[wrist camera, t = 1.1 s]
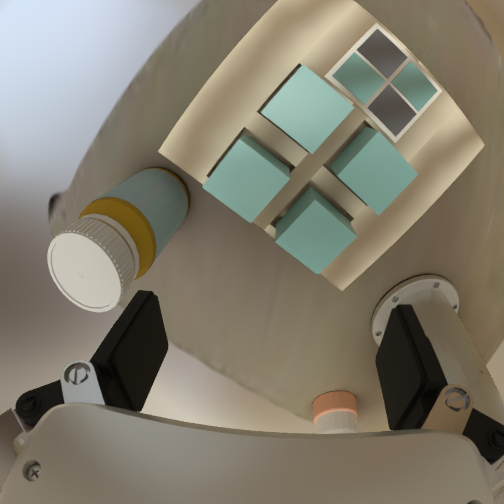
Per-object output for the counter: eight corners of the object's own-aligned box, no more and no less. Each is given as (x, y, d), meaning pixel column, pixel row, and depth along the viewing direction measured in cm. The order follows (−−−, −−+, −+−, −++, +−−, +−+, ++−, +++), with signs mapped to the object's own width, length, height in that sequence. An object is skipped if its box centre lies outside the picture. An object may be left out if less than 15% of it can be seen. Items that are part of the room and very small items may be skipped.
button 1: (402, 164, 23) (418, 174, 20) (367, 200, 25) (378, 215, 22) (366, 126, 22) (378, 131, 19) (329, 165, 24) (336, 176, 21)
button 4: (289, 168, 24) (290, 178, 21) (254, 207, 26) (250, 223, 23) (244, 133, 23) (239, 138, 20) (212, 175, 25) (201, 187, 22)
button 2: (348, 219, 26) (357, 236, 23) (313, 254, 28) (317, 274, 25) (310, 186, 25) (315, 199, 22) (275, 224, 27) (274, 242, 24)
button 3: (344, 106, 22) (354, 107, 18) (308, 146, 23) (312, 154, 20) (300, 69, 20) (303, 64, 17) (263, 111, 22) (260, 112, 19)
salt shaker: (309, 395, 44) (310, 506, 27) (354, 386, 42) (368, 498, 26) (315, 416, 47) (317, 515, 30) (356, 409, 46) (367, 508, 29)
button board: (466, 139, 24) (487, 146, 21) (337, 272, 33) (342, 293, 30) (307, -17, 19) (310, -32, 16) (171, 145, 28) (156, 152, 24)
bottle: (149, 153, 28) (55, 204, 15) (203, 192, 30) (144, 272, 17) (120, 204, 31) (36, 277, 18) (169, 240, 33) (108, 332, 20)
